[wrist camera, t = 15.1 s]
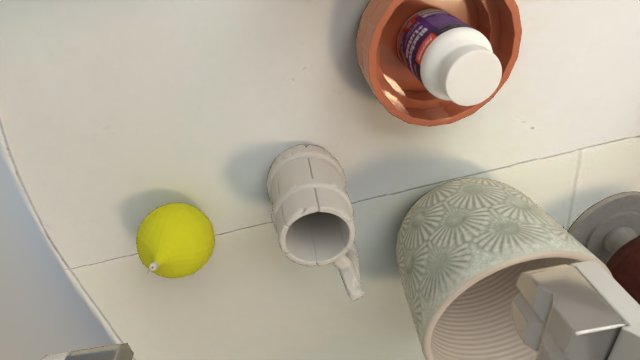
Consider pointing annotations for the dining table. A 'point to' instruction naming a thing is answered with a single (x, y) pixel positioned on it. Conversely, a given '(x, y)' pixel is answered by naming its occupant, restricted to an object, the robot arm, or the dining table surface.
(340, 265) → the mug
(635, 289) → the mate gourd
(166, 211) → the ornament
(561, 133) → the dining table surface
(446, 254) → the planter
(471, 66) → the pill bottle
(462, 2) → the bowl
